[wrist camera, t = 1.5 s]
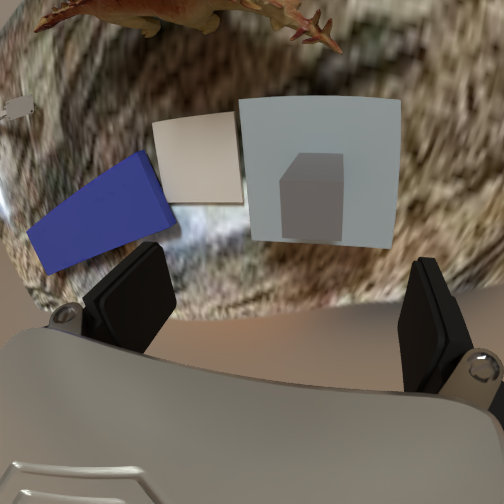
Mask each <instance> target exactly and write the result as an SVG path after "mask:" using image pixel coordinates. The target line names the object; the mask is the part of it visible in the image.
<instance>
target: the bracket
mask: <svg viewBox="0 0 504 504" xmlns="http://www.w3.org/2000/svg"><path fill="white" fill-rule="evenodd" d="M30 95H31V96H32V97H31V98H30ZM7 102H9V104H8V105H7ZM7 102H6V107H4V108H6V110H4V111H2V112H0V120H1V119H3V118H4V117H5V118H6V117H7V120H8V121H10V120H13V119H16V118H19V117H22V116H25V115H28V114H31V113H33V112H34V104H33V95H32V94H29V95H26V96H22V97H19V98H16V99H13V100H9V101H7ZM31 110H33V112H31ZM8 117H10V119H8Z"/></svg>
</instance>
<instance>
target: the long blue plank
mask: <svg viewBox="0 0 504 504" xmlns="http://www.w3.org/2000/svg"><path fill="white" fill-rule="evenodd" d="M175 223H177V222H176V220H175V218H174V216H173V213H172V211H171V209H170V207H169V205H168V202H167V200H166V198H165V196H164V194H163V191H162V189H161V187H160V185H159V182H158V180H157V178H156V176H155V173H154V171H153V169H152V166H151V164H150V162H149V159H148V157H147V155H146V152H145V150H142V151H138V152H136V153H134V154H133V155H131V156H129V157H128V158H126V159H125V160H123V161H121V162H120V163H118V164H117V165H115V166H114V167H112V168H110V169H109V170H107V171H106V172H104V173H103V174H101V175H100V176H98V177H97V178H96V179H94V180H93V181H91V182H90V183H88V184H87V185H85V186H84V187H83V188H81V189H80V190H78V191H77V192H76V193H74V194H73V195H72V196H70V197H69V198H68V199H66V200H65V201H64V202H62V203H61V204H60V205H58V206H57V207H56V208H54V209H53V210H52V211H51V212H49V213H48V214H47V215H46V216H44V217H43V218H42V219H41V220H40V221H38V222H37V223H36V224H35V225H33V226H32V227H31V228H30V229H29V230H28V231H26V233H27V235H28V237H29V239H30V241H31V243H32V245H33V247H34V250H35V252H36V254H37V256H38V258H39V260H40V261H41V263H42V265H43V267H44V269H45V271H46V273H47V275H51V274H53V273H55V272H58V271H60V270H62V269H65V268H67V267H70V266H72V265H74V264H77V263H79V262H82V261H84V260H87V259H89V258H91V257H94V256H96V255H99V254H101V253H104V252H106V251H109V250H111V249H114V248H117V247H119V246H122V245H124V244H127V243H130V242H132V241H135V240H137V239H140V238H143V237H145V236H148V235H151V234H153V233H156V232H159V231H162V230H164V229H167V228H170V227H171V226H173V225H174V224H175Z"/></svg>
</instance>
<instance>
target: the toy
mask: <svg viewBox="0 0 504 504" xmlns="http://www.w3.org/2000/svg"><path fill="white" fill-rule="evenodd" d="M68 1H70V3H67V2H66V3H61V8H59V9H57V8H56V7H53V8H52V9H53V13H51V14H49V15H46V16H44V17H42V18H41V20H40V22H39V24H38V25H37V26H36V27H35V28H34V32H35V33H38V32H40V31H43V30H46V29H50V28H52V27H54V26H55V25H56V24H57V23H59V22H60V21H62V20H65V19H68V18H71V17H73V16H75V15H78V14H89V15H94V16H96V17H97V18H98V19H100V20H103V21H106V22H109V23H112V24H117V25H120V26H123V27H129V28H135V29H142V32H141V34H145V38H150V37H153V36H154V35H156V34H157V32H158V31H159V30H160V28H161V24H160V21H159V20H158V19H155V18H153V17H150V16H158V17H159V18H160V19H162V20H164V21H168V22H173V23H175V24H180V25H185V26H187V27H190V28H198V29H197V30H201V31H203V34H210V33H213V32H214V31H216V29H217V28H218V26H219V22H220V18H219V17H218V15H216V14H214V13H213V11H214V10H242V11H247V12H253V13H257V14H260V15H263V16H266V17H269V18H270V22H271V26H272V28H273V30H274V31H278V30H280V29H281V28H283V27H284V26H286V27H289V28H292V29H295V30H297V32H296V34H295V35H294V36H292V37H291V38H290V41H294V40H295V39H297V38H299V37H300V36H302V35H303V34H305V35H308V36H310V37H312V38H309V39H305V40H303V41H302V44H314V43H317V42H321V43H323V44H325V45H327V46H328V47H330V48H331V49H332V50H333V51H334V52H336V53H338V54H341V55H342V54H343V52H342V51H341V49H340V48H339V46H338V45H337V43H336V42H335V41H334V40H332V39H331V37H330V31H331V28H332V18H330V19H329V20H328V22H327V23H326V25H325V27H324V28H323V30H321V29H320V27H319V25H318V22H319V18H320V15H321V11H320V9H318V10H317V11H316V13H315V15H314V17H313V18H311V19H310V20H308V19H305V18H304V17H303V16H302V15H301V13H300V12H299V11H298V8H299V7H300V6H301V3H302V2H301V1H299V0H68Z"/></svg>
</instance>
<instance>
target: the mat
mask: <svg viewBox="0 0 504 504" xmlns="http://www.w3.org/2000/svg"><path fill="white" fill-rule="evenodd" d="M152 126H153V133H154V140H155V146H156V152H157V158H158V164H159V170H160V176H161V181H162V187H163V192H164V196H165V198H166V200H167V202H168V203H172V202H241V203H243V202H244V192H243V182H242V172H241V162H240V152H239V142H238V132H237V121H236V111H233V112H223V113H214V114H205V115H197V116H190V117H183V118H177V119H170V120H164V121H159V122H154V123H152Z"/></svg>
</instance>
